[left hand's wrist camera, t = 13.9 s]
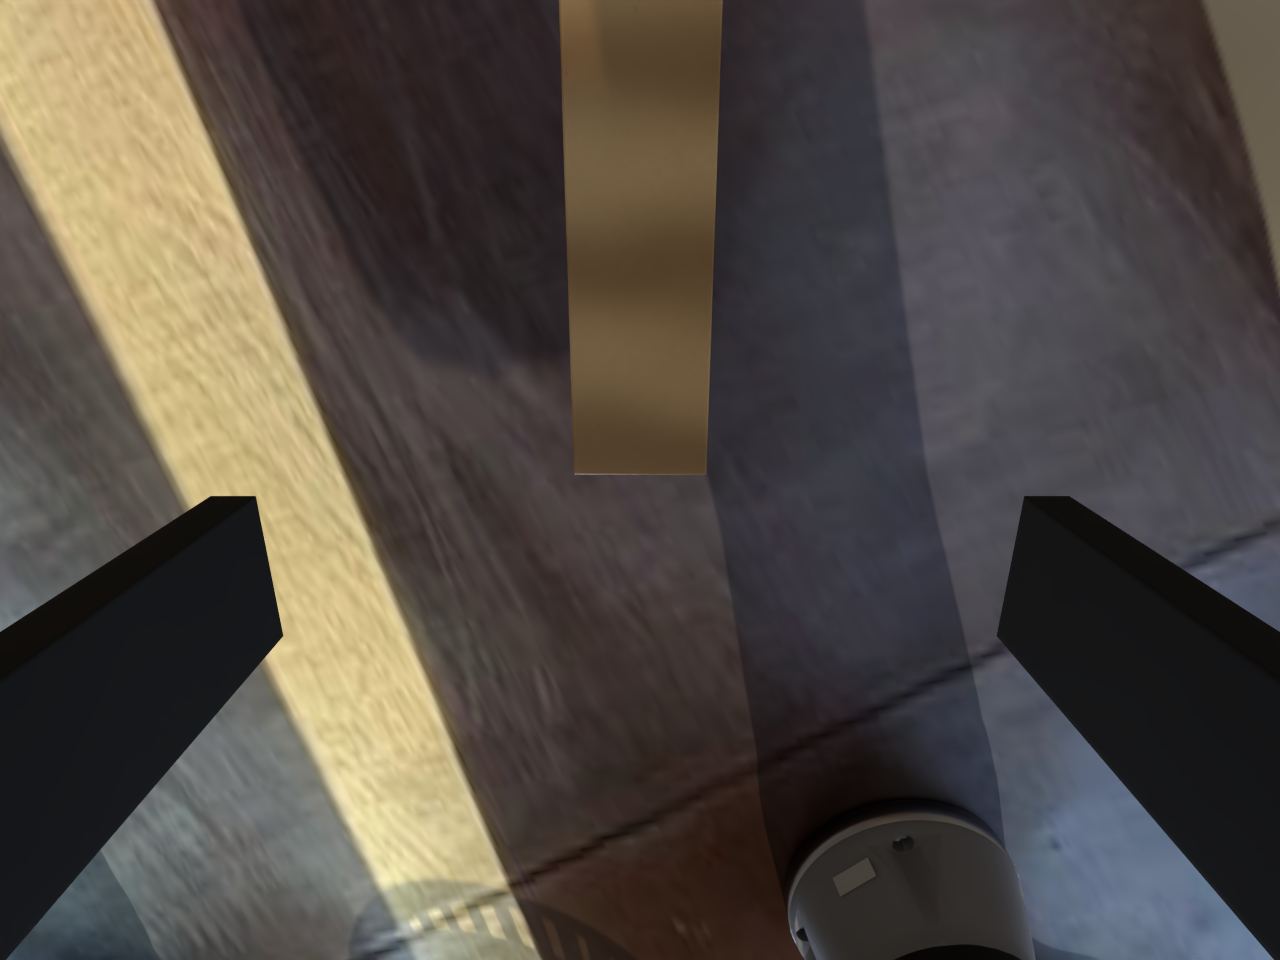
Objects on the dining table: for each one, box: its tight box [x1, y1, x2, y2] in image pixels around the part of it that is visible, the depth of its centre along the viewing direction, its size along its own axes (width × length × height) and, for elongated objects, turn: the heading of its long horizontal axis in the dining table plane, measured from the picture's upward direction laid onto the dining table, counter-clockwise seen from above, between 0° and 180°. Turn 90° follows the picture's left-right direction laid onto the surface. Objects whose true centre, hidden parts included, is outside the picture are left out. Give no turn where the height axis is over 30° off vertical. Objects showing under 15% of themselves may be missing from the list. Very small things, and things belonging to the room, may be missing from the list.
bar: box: [559, 0, 723, 475], centre depth 29 cm, size 28×5×9 cm, turn 0°
